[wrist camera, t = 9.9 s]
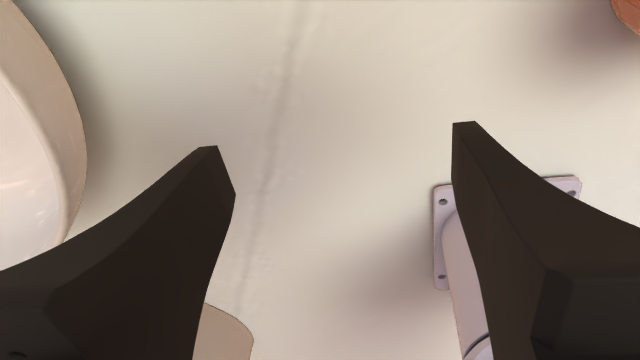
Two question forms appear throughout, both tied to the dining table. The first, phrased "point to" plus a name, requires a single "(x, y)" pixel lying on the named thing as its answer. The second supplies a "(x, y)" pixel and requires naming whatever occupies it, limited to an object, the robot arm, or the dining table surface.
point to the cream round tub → (221, 337)
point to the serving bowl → (35, 144)
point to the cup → (628, 13)
